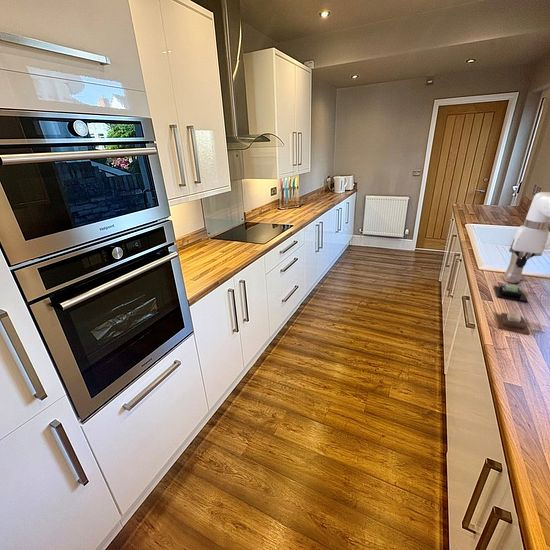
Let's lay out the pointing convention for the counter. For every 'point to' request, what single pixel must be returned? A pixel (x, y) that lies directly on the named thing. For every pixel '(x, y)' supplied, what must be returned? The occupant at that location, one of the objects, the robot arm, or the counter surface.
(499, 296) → the keypad far
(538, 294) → the counter surface
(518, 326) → the keypad near
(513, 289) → the key far
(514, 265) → the plastic bottle
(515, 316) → the key near
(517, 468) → the counter surface
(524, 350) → the counter surface
